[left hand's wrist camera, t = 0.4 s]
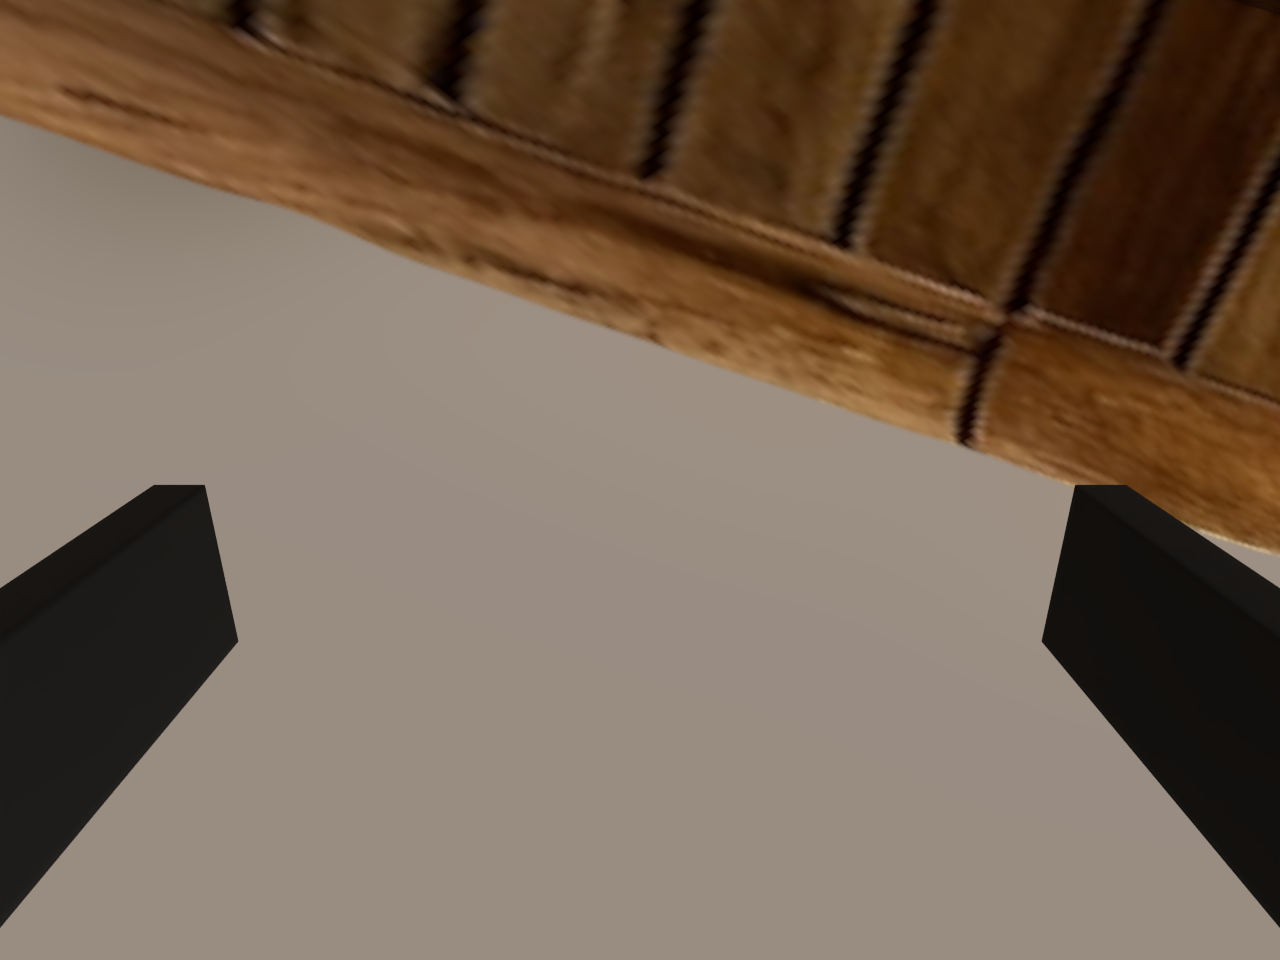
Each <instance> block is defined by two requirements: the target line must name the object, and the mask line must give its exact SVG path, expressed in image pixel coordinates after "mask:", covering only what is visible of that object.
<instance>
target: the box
mask: <svg viewBox="0 0 1280 960" xmlns="http://www.w3.org/2000/svg"><path fill="white" fill-rule="evenodd" d="M1234 1H1238V2H1241V3H1244V4H1248V5H1251V6H1254V7H1258V8H1261V9H1264V10H1268V11H1271V12H1274V13H1278V14H1280V0H1234Z"/></svg>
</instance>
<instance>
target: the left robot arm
mask: <svg viewBox="0 0 1280 960" xmlns="http://www.w3.org/2000/svg"><path fill="white" fill-rule="evenodd" d="M237 642H238V638H237V633H236V628H235V624H234V619H233V614H232V610H231V605H230V600H229V596H228V591H227V586H226V582H225V577H224V572H223V568H222V563H221V558H220V554H219V549H218V544H217V540H216V535H215V531H214V526H213V521H212V516H211V512H210V507H209V502H208V498H207V493H206V488H205V485H153V486H152V487H150V488H149V489H147V490H146V491H144V492H143V493H141V494H140V495H138V496H137V497H135V498H134V499H132V500H131V501H129V502H128V503H126V504H125V505H123V506H122V507H120V508H119V509H118V510H116V511H115V512H113V513H112V514H110V515H109V516H107V517H106V518H104V519H103V520H101V521H100V522H98V523H97V524H95V525H94V526H92V527H91V528H89V529H88V530H86V531H85V532H83V533H82V534H80V535H79V536H77V537H76V538H74V539H73V540H71V541H70V542H68V543H67V544H65V545H64V546H62V547H61V548H59V549H58V550H56V551H55V552H53V553H52V554H51V555H49V556H48V557H46V558H45V559H43V560H42V561H40V562H39V563H37V564H36V565H34V566H33V567H31V568H30V569H28V570H27V571H25V572H24V573H22V574H21V575H19V576H18V577H16V578H15V579H13V580H12V581H10V582H9V583H7V584H6V585H4V586H3V587H1V588H0V927H1V926H2V925H3V924H4V923H5V921H6V920H7V919H8V918H9V917H10V915H11V914H12V913H13V912H14V911H15V909H16V908H17V907H18V906H19V905H20V903H21V902H22V901H23V900H24V898H25V897H26V896H27V895H28V894H29V892H30V891H31V890H32V889H33V888H34V886H35V885H36V884H37V883H38V882H39V880H40V879H41V878H42V877H43V876H44V874H45V873H46V872H47V871H48V870H49V868H50V867H51V866H52V865H53V864H54V862H55V861H56V860H57V859H58V858H59V856H60V855H61V854H62V853H63V852H64V850H65V849H66V848H67V847H68V846H69V844H70V843H71V842H72V841H73V840H74V838H75V837H76V836H77V835H78V834H79V832H80V831H81V830H82V829H83V828H84V826H85V825H86V824H87V823H88V822H89V820H90V819H91V818H92V817H93V815H94V814H95V813H96V812H97V811H98V810H99V808H100V807H101V806H102V805H103V804H104V802H105V801H106V800H107V799H108V797H109V796H110V795H111V794H112V793H113V791H114V790H115V789H116V788H117V787H118V785H119V784H120V783H121V782H122V781H123V779H124V778H125V777H126V776H127V775H128V773H129V772H130V771H131V770H132V769H133V767H134V766H135V765H136V764H137V763H138V761H139V760H140V759H141V758H142V757H143V755H144V754H145V753H146V752H147V751H148V749H149V748H150V747H151V746H152V745H153V743H154V742H155V741H156V740H157V739H158V737H159V736H160V735H161V734H162V733H163V731H164V730H165V729H166V728H167V727H168V725H169V724H170V723H171V722H172V721H173V719H174V718H175V717H176V716H177V715H178V713H179V712H180V711H181V710H182V708H183V707H184V706H185V705H186V704H187V703H188V701H189V700H190V699H191V698H192V697H193V695H194V694H195V693H196V692H197V690H198V689H199V688H200V687H201V686H202V684H203V683H204V682H205V681H206V680H207V678H208V677H209V676H210V675H211V674H212V672H213V671H214V670H215V669H216V668H217V666H218V665H219V664H220V663H221V662H222V660H223V659H224V658H225V657H226V656H227V654H228V653H229V652H230V651H231V650H232V648H233V647H234V646H235V645H236V644H237ZM1042 642H1043V644H1044V645H1045V646H1046V647H1047V648H1048V650H1049V651H1050V652H1051V653H1052V654H1053V656H1054V657H1055V658H1056V659H1057V660H1058V662H1059V663H1060V664H1061V665H1062V666H1063V668H1064V669H1065V670H1066V671H1067V672H1068V674H1069V675H1070V676H1071V677H1072V678H1073V680H1074V681H1075V682H1076V683H1077V684H1078V686H1079V687H1080V688H1081V689H1082V690H1083V692H1084V693H1085V694H1086V695H1087V696H1088V698H1089V699H1090V700H1091V701H1092V703H1093V704H1094V705H1095V706H1096V707H1097V708H1098V710H1099V711H1100V712H1101V713H1102V715H1103V716H1104V717H1105V718H1106V719H1107V721H1108V722H1109V723H1110V724H1111V725H1112V726H1113V728H1114V729H1115V730H1116V731H1117V733H1118V734H1119V735H1120V736H1121V737H1122V739H1123V740H1124V741H1125V742H1126V743H1127V745H1128V746H1129V747H1130V748H1131V749H1132V751H1133V752H1134V753H1135V754H1136V755H1137V757H1138V758H1139V759H1140V760H1141V761H1142V763H1143V764H1144V765H1145V766H1146V767H1147V769H1148V770H1149V771H1150V772H1151V773H1152V775H1153V776H1154V777H1155V778H1156V779H1157V781H1158V782H1159V783H1160V784H1161V785H1162V787H1163V788H1164V789H1165V790H1166V791H1167V793H1168V794H1169V795H1170V796H1171V798H1172V799H1173V800H1174V801H1175V802H1176V804H1177V805H1178V806H1179V807H1180V808H1181V809H1182V811H1183V812H1184V813H1185V814H1186V816H1187V817H1188V818H1189V819H1190V820H1191V822H1192V823H1193V824H1194V825H1195V826H1196V828H1197V829H1198V830H1199V831H1200V832H1201V834H1202V835H1203V836H1204V837H1205V838H1206V840H1207V841H1208V842H1209V843H1210V844H1211V845H1212V847H1213V848H1214V849H1215V850H1216V852H1217V853H1218V854H1219V855H1220V856H1221V858H1222V859H1223V860H1224V861H1225V862H1226V864H1227V865H1228V866H1229V867H1230V868H1231V870H1232V871H1233V872H1234V873H1235V874H1236V876H1237V877H1238V878H1239V879H1240V880H1241V882H1242V883H1243V884H1244V885H1245V886H1246V888H1247V889H1248V890H1249V891H1250V892H1251V894H1252V895H1253V896H1254V897H1255V898H1256V900H1257V901H1258V902H1259V903H1260V905H1261V906H1262V907H1263V908H1264V909H1265V911H1266V912H1267V913H1268V914H1269V915H1270V917H1271V918H1272V919H1273V920H1274V921H1275V922H1276V924H1277V925H1278V926H1279V927H1280V588H1279V587H1277V586H1276V585H1274V584H1273V583H1271V582H1270V581H1268V580H1267V579H1265V578H1264V577H1262V576H1261V575H1259V574H1258V573H1256V572H1255V571H1253V570H1252V569H1250V568H1249V567H1247V566H1246V565H1244V564H1243V563H1241V562H1240V561H1238V560H1237V559H1235V558H1234V557H1232V556H1231V555H1229V554H1228V553H1226V552H1225V551H1223V550H1222V549H1221V548H1219V547H1218V546H1216V545H1215V544H1213V543H1212V542H1210V541H1209V540H1207V539H1206V538H1204V537H1203V536H1201V535H1200V534H1198V533H1197V532H1195V531H1194V530H1192V529H1191V528H1189V527H1188V526H1186V525H1185V524H1183V523H1182V522H1180V521H1179V520H1177V519H1176V518H1174V517H1173V516H1171V515H1170V514H1168V513H1167V512H1165V511H1164V510H1163V509H1161V508H1160V507H1158V506H1157V505H1155V504H1154V503H1152V502H1151V501H1149V500H1148V499H1146V498H1145V497H1143V496H1142V495H1140V494H1139V493H1137V492H1136V491H1134V490H1133V489H1131V488H1130V487H1128V486H1127V485H1075V488H1074V493H1073V498H1072V502H1071V507H1070V512H1069V517H1068V521H1067V526H1066V530H1065V535H1064V540H1063V544H1062V549H1061V554H1060V558H1059V563H1058V568H1057V572H1056V577H1055V582H1054V586H1053V591H1052V596H1051V600H1050V605H1049V610H1048V614H1047V619H1046V624H1045V628H1044V633H1043V638H1042Z"/></svg>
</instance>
